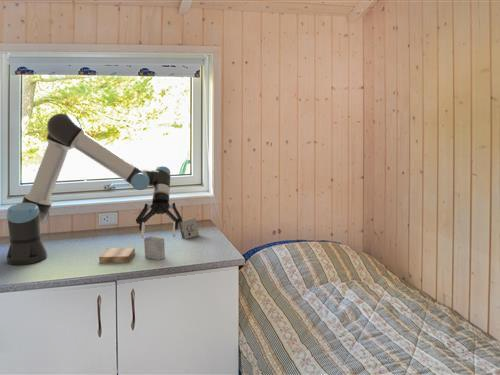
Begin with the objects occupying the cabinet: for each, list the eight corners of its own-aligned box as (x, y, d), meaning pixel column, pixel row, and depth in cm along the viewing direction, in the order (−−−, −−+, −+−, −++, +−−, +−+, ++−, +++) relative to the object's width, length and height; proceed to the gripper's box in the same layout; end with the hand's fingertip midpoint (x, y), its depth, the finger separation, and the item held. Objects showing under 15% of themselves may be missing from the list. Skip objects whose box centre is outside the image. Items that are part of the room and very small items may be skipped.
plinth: (99, 262, 172) (99, 257, 172) (107, 253, 184) (106, 248, 184) (128, 262, 173) (128, 256, 173) (134, 253, 185) (134, 247, 184)
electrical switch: (185, 239, 206) (184, 221, 205) (178, 238, 209) (177, 220, 208) (199, 235, 213) (197, 217, 212) (192, 235, 216) (190, 217, 216)
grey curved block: (165, 257, 178) (164, 238, 177) (157, 260, 175) (157, 240, 173) (152, 254, 183) (151, 235, 181) (144, 257, 179) (143, 238, 178)
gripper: (188, 199, 197) (187, 239, 185) (135, 201, 195) (130, 241, 183) (187, 190, 191) (186, 230, 179) (132, 192, 189) (127, 232, 177)
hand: (158, 236), depth 181 cm, fingers open, 13 cm apart
